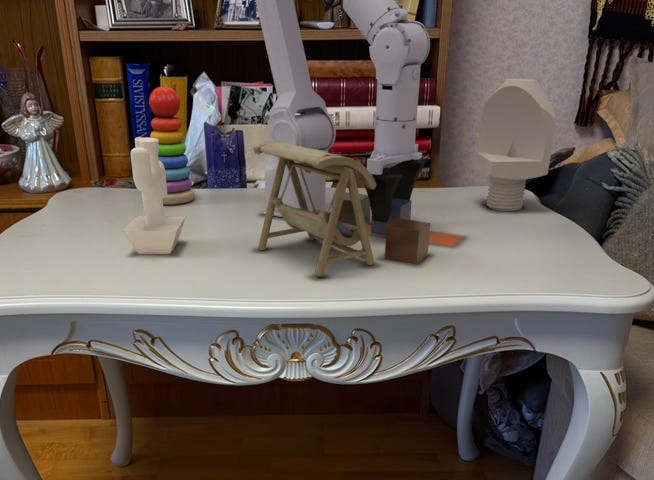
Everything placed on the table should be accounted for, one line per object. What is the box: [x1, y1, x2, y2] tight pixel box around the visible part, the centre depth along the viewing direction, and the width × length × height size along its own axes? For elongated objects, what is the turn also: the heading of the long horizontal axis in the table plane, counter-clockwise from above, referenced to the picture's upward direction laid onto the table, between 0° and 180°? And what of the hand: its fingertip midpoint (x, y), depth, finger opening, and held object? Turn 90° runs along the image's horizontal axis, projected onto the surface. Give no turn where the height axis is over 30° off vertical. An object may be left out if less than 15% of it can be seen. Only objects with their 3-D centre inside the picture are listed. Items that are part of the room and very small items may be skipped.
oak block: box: [332, 191, 371, 226], centre depth 102 cm, size 4×4×4 cm
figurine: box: [122, 136, 187, 255], centre depth 90 cm, size 7×9×15 cm
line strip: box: [367, 223, 463, 247], centre depth 100 cm, size 21×5×1 cm, turn 61°
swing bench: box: [252, 140, 376, 278], centre depth 86 cm, size 15×10×15 cm, turn 34°
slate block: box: [370, 198, 413, 235], centre depth 99 cm, size 4×4×4 cm
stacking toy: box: [148, 86, 195, 206], centre depth 114 cm, size 8×8×19 cm
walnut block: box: [384, 219, 431, 265], centre depth 89 cm, size 4×4×4 cm
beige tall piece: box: [473, 78, 557, 212], centre depth 109 cm, size 9×9×20 cm
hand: (390, 215), depth 99 cm, fingers open, 7 cm apart
